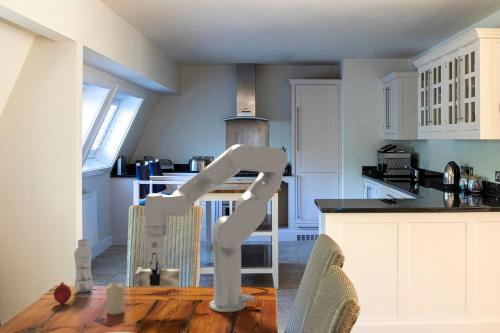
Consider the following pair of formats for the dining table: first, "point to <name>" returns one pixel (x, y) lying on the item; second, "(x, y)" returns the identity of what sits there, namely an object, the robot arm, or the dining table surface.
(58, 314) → the dining table surface
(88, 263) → the plastic bottle
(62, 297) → the onion
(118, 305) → the candle
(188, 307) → the dining table surface
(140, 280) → the cream upright plaque
